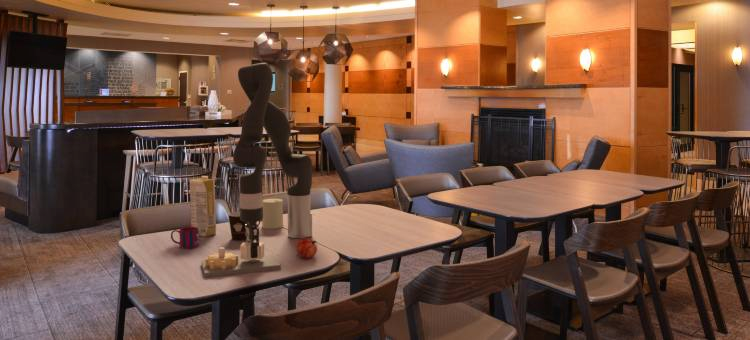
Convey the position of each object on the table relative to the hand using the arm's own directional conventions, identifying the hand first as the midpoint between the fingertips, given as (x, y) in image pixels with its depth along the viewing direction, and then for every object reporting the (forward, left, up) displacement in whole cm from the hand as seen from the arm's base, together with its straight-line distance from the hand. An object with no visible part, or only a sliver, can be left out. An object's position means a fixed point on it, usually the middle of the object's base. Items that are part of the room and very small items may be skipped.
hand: (252, 254), depth 186 cm
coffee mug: (-2, -36, -4) cm, 36 cm away
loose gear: (0, 0, -1) cm, 1 cm away
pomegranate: (-19, -3, -4) cm, 20 cm away
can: (-17, -53, -4) cm, 56 cm away
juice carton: (+12, -49, -4) cm, 51 cm away
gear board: (+4, 0, -4) cm, 5 cm away
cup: (+20, -33, -4) cm, 39 cm away
